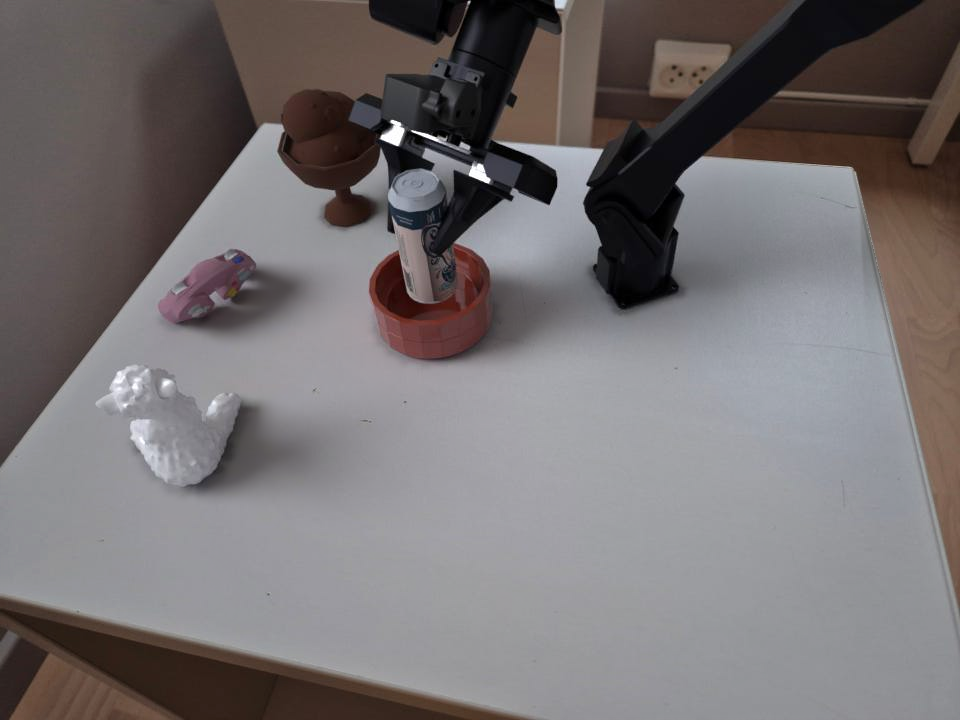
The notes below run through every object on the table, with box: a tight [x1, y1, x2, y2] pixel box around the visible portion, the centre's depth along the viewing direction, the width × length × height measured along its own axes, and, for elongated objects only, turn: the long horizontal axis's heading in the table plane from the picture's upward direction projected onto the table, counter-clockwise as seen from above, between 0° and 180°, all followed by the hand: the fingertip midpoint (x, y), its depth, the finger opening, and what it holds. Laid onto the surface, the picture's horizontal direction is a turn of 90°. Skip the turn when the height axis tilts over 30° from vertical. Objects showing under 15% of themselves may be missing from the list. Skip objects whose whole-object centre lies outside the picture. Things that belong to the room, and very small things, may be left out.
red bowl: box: [368, 242, 494, 360], centre depth 71 cm, size 11×11×5 cm
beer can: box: [387, 169, 458, 304], centre depth 65 cm, size 5×5×12 cm
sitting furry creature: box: [95, 363, 242, 488], centre depth 60 cm, size 10×9×12 cm
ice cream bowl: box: [276, 88, 382, 228], centre depth 79 cm, size 11×11×15 cm
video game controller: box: [157, 248, 257, 324], centre depth 74 cm, size 10×5×7 cm, turn 139°
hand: (413, 243), depth 64 cm, fingers closed on beer can, 5 cm apart
